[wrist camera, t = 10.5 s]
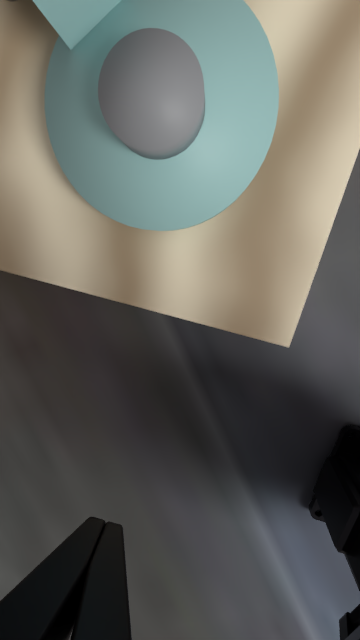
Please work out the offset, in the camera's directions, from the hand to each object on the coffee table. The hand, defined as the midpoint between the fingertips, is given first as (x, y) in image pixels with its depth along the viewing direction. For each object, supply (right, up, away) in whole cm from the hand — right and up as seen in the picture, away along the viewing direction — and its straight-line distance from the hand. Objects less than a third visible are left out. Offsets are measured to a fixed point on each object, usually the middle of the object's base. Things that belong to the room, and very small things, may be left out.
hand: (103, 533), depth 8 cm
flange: (-1, +17, +7) cm, 18 cm away
